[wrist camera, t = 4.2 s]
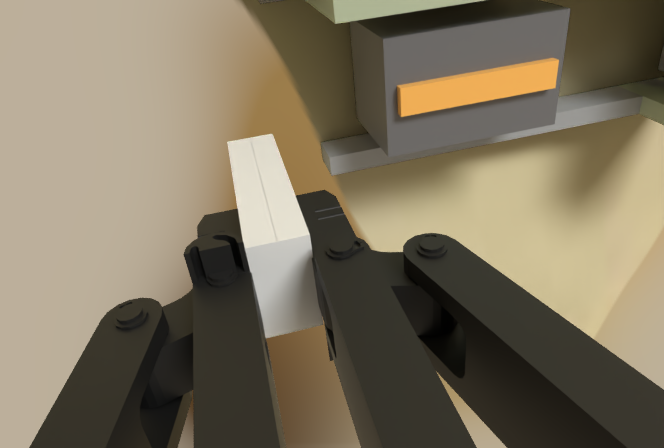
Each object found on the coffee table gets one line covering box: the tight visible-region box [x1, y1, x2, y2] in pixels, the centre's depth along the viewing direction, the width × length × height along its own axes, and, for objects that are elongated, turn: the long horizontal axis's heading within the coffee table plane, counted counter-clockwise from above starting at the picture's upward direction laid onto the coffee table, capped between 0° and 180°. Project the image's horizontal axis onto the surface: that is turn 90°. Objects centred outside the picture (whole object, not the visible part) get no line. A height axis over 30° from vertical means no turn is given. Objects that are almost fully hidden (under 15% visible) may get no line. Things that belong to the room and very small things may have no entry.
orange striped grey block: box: [350, 0, 570, 157], centre depth 24 cm, size 8×5×5 cm, turn 96°
